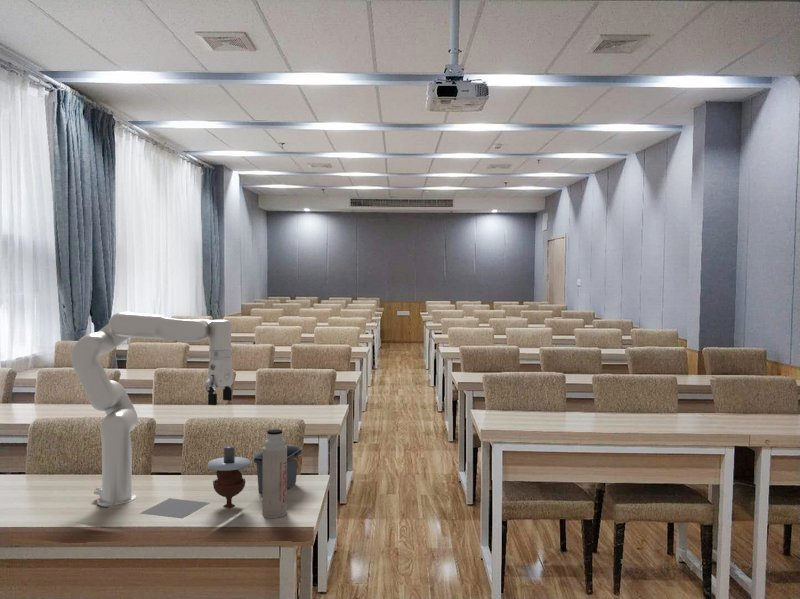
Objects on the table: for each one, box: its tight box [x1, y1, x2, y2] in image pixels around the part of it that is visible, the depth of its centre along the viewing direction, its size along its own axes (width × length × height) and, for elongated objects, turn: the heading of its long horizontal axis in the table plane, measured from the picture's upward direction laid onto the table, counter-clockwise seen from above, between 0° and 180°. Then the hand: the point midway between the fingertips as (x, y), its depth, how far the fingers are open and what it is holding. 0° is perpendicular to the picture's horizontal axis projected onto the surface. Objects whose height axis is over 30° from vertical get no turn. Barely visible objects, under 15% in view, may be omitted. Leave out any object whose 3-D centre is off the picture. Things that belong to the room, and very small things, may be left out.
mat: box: [140, 497, 210, 519], centre depth 225 cm, size 16×16×1 cm
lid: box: [207, 445, 251, 471], centre depth 227 cm, size 14×14×6 cm
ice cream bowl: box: [212, 469, 246, 509], centre depth 227 cm, size 11×11×15 cm
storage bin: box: [252, 444, 303, 495], centre depth 249 cm, size 21×16×14 cm
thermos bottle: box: [261, 428, 288, 519], centre depth 223 cm, size 8×8×28 cm
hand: (220, 402), depth 238 cm, fingers open, 9 cm apart
